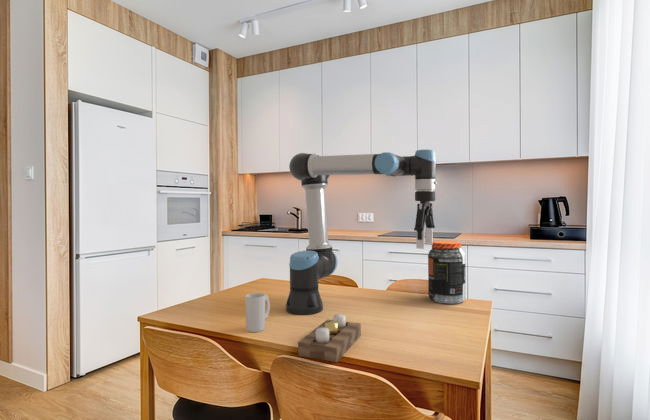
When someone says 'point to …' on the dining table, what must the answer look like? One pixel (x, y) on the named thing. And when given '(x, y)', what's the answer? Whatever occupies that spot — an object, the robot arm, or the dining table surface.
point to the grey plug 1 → (322, 335)
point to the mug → (256, 311)
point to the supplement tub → (446, 272)
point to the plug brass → (332, 327)
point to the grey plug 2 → (340, 320)
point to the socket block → (330, 343)
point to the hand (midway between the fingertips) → (424, 246)
